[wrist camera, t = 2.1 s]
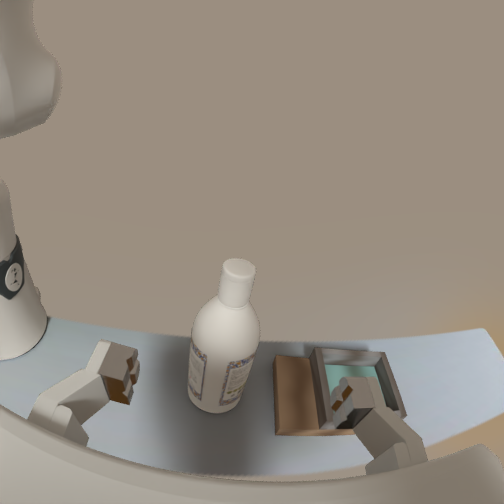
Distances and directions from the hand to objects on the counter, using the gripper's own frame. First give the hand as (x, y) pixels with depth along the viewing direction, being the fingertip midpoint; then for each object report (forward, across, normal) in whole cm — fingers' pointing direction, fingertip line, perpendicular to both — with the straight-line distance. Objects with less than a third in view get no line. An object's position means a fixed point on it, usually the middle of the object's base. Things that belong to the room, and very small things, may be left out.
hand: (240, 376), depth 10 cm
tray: (+15, -17, +24) cm, 33 cm away
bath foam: (+14, 0, +24) cm, 28 cm away
